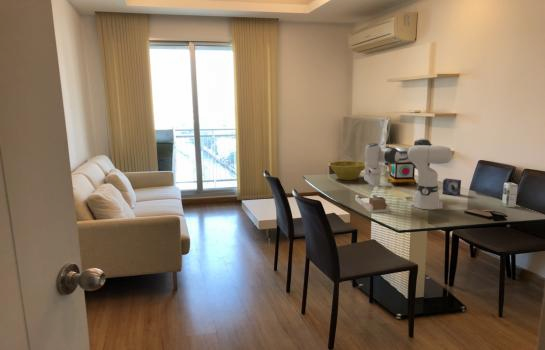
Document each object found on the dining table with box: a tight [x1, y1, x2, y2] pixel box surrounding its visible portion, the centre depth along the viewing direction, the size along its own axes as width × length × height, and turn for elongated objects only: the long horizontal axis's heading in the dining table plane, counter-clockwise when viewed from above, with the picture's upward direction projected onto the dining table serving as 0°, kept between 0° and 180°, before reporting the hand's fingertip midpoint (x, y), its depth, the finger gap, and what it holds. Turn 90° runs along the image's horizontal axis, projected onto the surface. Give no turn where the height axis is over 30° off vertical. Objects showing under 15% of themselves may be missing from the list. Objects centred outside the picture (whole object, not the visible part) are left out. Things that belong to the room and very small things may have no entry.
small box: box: [441, 177, 462, 197], centre depth 277 cm, size 11×6×10 cm, turn 47°
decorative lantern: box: [387, 161, 417, 187], centre depth 311 cm, size 20×20×30 cm
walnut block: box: [368, 196, 387, 209], centre depth 243 cm, size 6×8×6 cm
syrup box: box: [501, 182, 519, 208], centre depth 244 cm, size 6×6×14 cm
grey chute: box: [354, 193, 390, 213], centre depth 253 cm, size 30×12×4 cm, turn 6°
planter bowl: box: [328, 160, 365, 181], centre depth 337 cm, size 32×32×13 cm
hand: (371, 189), depth 253 cm, fingers closed
